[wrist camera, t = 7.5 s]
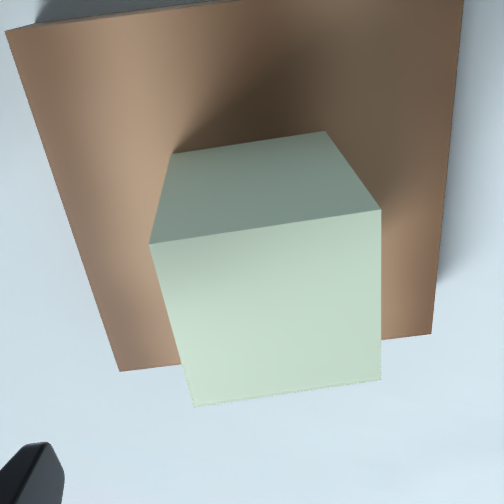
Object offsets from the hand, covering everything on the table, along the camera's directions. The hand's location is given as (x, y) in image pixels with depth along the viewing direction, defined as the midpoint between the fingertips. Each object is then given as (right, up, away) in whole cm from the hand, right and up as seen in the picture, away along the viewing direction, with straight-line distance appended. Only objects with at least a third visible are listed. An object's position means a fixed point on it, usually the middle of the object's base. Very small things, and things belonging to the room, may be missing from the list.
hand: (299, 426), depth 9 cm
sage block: (-1, +5, +8) cm, 9 cm away
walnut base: (-1, +6, +11) cm, 12 cm away
